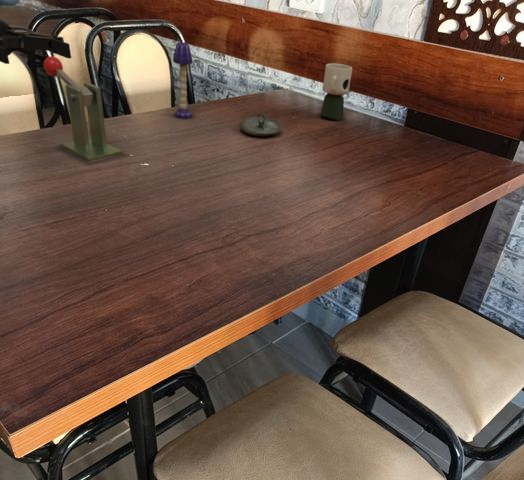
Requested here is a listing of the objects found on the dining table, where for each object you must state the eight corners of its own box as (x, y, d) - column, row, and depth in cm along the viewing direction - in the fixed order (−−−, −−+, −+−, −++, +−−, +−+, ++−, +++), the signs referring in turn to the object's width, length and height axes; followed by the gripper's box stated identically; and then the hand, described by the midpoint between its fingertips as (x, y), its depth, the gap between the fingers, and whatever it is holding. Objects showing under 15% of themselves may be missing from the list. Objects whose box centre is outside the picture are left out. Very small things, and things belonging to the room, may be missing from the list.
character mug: (339, 125, 137) (348, 71, 128) (314, 120, 138) (321, 67, 130) (347, 115, 145) (356, 64, 136) (323, 111, 146) (330, 60, 138)
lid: (272, 132, 132) (271, 111, 130) (289, 133, 124) (288, 111, 122) (234, 136, 129) (232, 114, 126) (249, 138, 120) (247, 115, 118)
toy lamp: (196, 117, 132) (196, 44, 121) (184, 120, 129) (182, 45, 118) (183, 113, 134) (181, 40, 123) (170, 116, 131) (167, 42, 120)
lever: (40, 71, 104) (39, 53, 101) (56, 69, 106) (56, 52, 103) (79, 110, 100) (80, 92, 97) (95, 107, 102) (96, 90, 99)
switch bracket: (60, 148, 107) (49, 82, 99) (93, 142, 112) (85, 77, 104) (89, 164, 102) (79, 95, 94) (123, 156, 106) (116, 90, 98)
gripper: (46, 50, 125) (94, 68, 114) (-61, 58, 110) (-18, 80, 99) (40, 14, 120) (89, 29, 109) (-73, 17, 105) (-29, 35, 95)
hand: (38, 53), depth 104 cm, fingers open, 13 cm apart
